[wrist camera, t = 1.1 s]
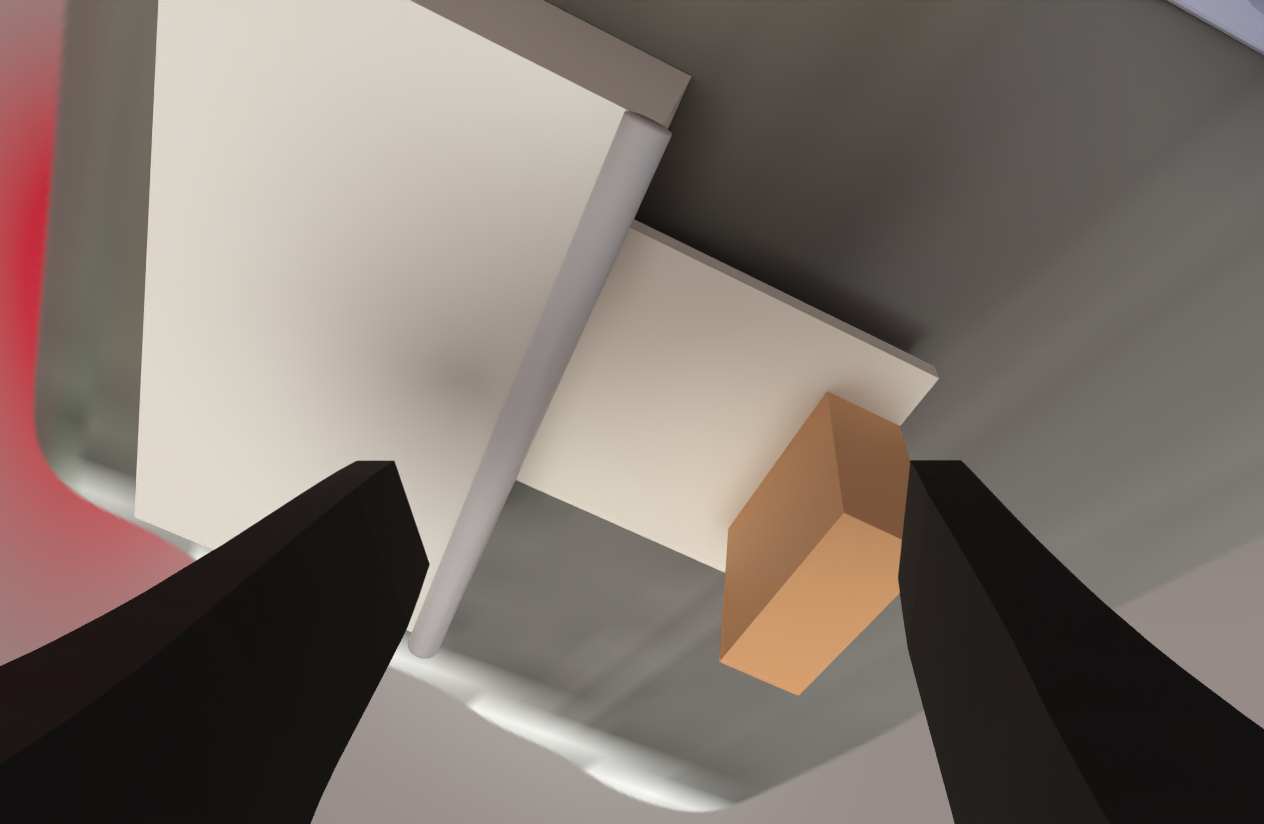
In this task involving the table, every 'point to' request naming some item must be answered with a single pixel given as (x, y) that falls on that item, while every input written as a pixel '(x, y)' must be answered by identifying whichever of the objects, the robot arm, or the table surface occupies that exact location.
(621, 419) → the cream slab with block
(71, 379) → the table surface
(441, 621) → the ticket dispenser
